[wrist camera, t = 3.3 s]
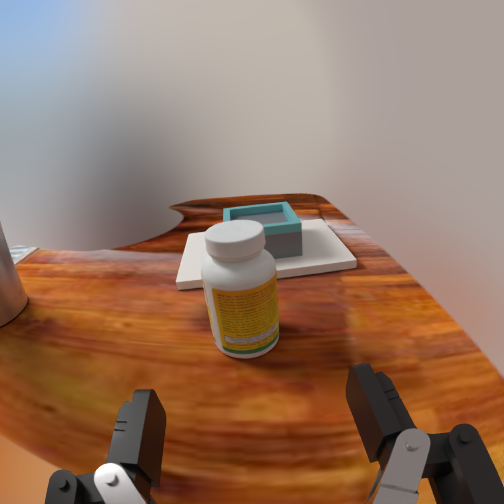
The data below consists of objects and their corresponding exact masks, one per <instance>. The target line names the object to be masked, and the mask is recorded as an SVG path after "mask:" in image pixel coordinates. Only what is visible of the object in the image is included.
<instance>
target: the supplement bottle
mask: <svg viewBox="0 0 504 504" xmlns="http://www.w3.org/2000/svg"><path fill="white" fill-rule="evenodd" d="M205 243H206V251H207V252H208V254H209V256H208V257H207V258H206V259H205V260H204V262H203V264H202V267H201V277H202V283H203V288H204V294H205V299H206V303H207V308H208V313H209V318H210V324H211V328H212V333H213V337H214V341H215V344H216V346H217V347H218V348H219V350H220V351H221V352H223V353H224V354H226V355H228V356H231V357H235V358H243V359H247V358H255V357H258V356H261V355H263V354H265V353H267V352H268V351H270V350H271V349H272V348H273V347H274V346H275V344H276V343H277V341H278V338H279V313H278V296H277V269H276V263H275V260H274V258H273V256H272V255H271V254H270V253H269V252H268V251H267V250H265V249H264V246H265V243H266V241H265V234H264V227H263V225H262V224H260V223H259V222H256V221H252V220H232V221H226V222H222V223H219V224H216V225H214V226H212V227H210V228H209V229H208V230H207V231H206V232H205Z"/></svg>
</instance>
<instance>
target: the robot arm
mask: <svg viewBox="0 0 504 504" xmlns="http://www.w3.org/2000/svg"><path fill="white" fill-rule="evenodd" d="M27 301H28V297H27V294H26V292H25V290H24V288H23V285H22V283H21V280H20V278H19V275H18V273H17V270H16V267H15V265H14V262H13V259H12V257H11V254H10V251H9V248H8V246H7V242H6V239H5V236H4V233H3V230H2V226H1V223H0V326H2V325H4V324H6V323H8V322H9V321H11V320H12V319H13V318H15V317H16V316H17V315H18V314H19V313H20V312H21V311H22V310H23V309H24V307H25V306H26V304H27ZM346 398H347V402H348V405H349V407H350V410H351V412H352V415H353V418H354V420H355V423H356V426H357V428H358V431H359V434H360V436H361V439H362V442H363V444H364V447H365V450H366V453H367V455H368V458H369V461H370V463H372V462H375V461H379V464H380V469H379V471H378V473H377V476H376V478H375V480H374V483H373V485H372V487H371V489H370V492H369V494H368V496H367V498H366V500H365V502H364V504H416V503H417V500H418V495H419V493H418V492H417V489H418V486H419V483H420V480H421V479H422V478H428V480H429V483H430V486H431V488H432V491H433V494H434V497H435V500H436V503H437V504H504V487H503V484H502V482H501V479H500V477H499V475H498V473H497V470H496V468H495V466H494V464H493V462H492V460H491V457H490V455H489V453H488V451H487V449H486V447H485V445H484V443H483V441H482V439H481V437H480V435H479V433H478V431H477V430H476V429H475V428H474V427H473V426H472V425H469V424H459V425H457V426H455V427H454V428H453V429H452V430H451V432H448V433H439V434H427V433H425V432H424V431H422V430H420V429H418V428H417V427H416V426H415V425H414V423H413V421H412V419H411V417H410V415H409V413H408V411H407V410H406V408H405V406H404V404H403V402H402V400H401V398H399V394H398V392H397V391H396V390H395V387H394V385H393V383H392V381H391V379H390V378H388V377H387V376H386V375H385V374H384V373H382V372H378V373H374V372H373V370H372V368H371V366H370V364H369V363H363V364H359V365H354V366H351V367H350V368H349V374H348V379H347V385H346ZM116 422H117V423H116V424H115V428H114V430H115V431H114V432H113V436H112V440H111V444H110V449H109V453H108V458H107V461H106V463H105V465H102V466H101V467H99V468H98V469H97V471H96V472H94V473H90V474H83V475H74V474H72V473H71V472H70V471H68V470H58V471H56V472H54V473H53V474H52V476H51V477H50V480H49V484H48V489H47V494H46V499H45V504H157V503H156V501H155V500H154V499H153V497H152V496H151V495H150V490H151V486H153V487H159V485H160V474H161V464H162V455H163V446H164V437H165V429H166V414H165V410H164V408H163V406H162V404H161V402H160V400H159V398H158V396H157V394H156V392H155V391H154V390H153V389H137V390H135V392H134V395H133V399H132V402H127V401H126V402H125V403H124V404H123V406H122V407H121V408H120V410H119V412H118V416H117V420H116Z"/></svg>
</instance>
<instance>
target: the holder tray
mask: <svg viewBox="0 0 504 504" xmlns="http://www.w3.org/2000/svg"><path fill="white" fill-rule="evenodd" d="M232 220H252V221H256V222H259V223H260V224H262V225H263V227H264V234H265V241H266V243H265V246H264V249H265V250H267V251H268V252H269V253H270V254H271V255H272V256H273V258H274V260H275V263H276V269H277V279H278V278H285V277H293V276H301V275H308V274H316V273H323V272H330V271H337V270H344V269H351V268H356V265H357V259H356V258H355V257H354V256H353V255H352V253H351V252H350V251H349V250H348V249H347V248H346V246H345V245H344V244H343V243H342V242H341V241H340V239H339V238H338V237H337V236H336V235H335V234H334V232H333V231H332V230H331V229H330V228H329V227H328V226H327V224H326V223H325V222H324V221H323V220H322V219H315V220H306V221H300V220H299V218H298V217H297V215H296V214H295V213H294V211H293V210H292V208H291V207H290V205H289V204H288V203H287V202H280V203H270V204H261V205H252V206H243V207H234V208H226V209H224V217H223V222H226V221H232ZM208 256H209V254H208V252H207V251H206V243H205V232H201V233H193V234H189V236H188V239H187V243H186V246H185V250H184V254H183V257H182V261H181V264H180V268H179V272H178V276H177V279H176V285H177V289H178V290H183V289H192V288H202V287H203V283H202V277H201V267H202V264H203V262H204V260H205V259H206V258H207V257H208Z"/></svg>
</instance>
